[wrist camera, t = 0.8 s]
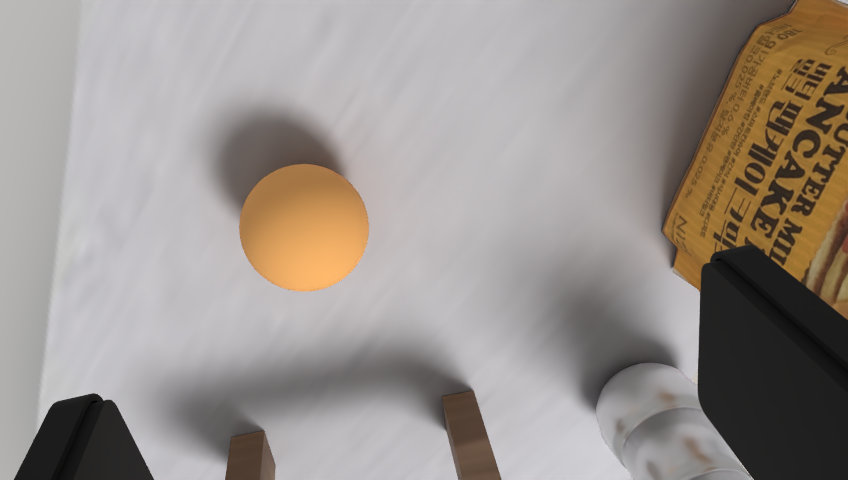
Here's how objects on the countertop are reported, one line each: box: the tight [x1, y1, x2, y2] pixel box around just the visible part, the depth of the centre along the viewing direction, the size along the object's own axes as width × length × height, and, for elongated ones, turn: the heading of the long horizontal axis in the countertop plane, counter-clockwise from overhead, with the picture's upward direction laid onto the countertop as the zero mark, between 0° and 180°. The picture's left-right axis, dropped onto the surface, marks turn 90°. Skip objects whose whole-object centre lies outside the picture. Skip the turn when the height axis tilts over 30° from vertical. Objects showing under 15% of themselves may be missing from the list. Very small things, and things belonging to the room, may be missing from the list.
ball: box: [239, 164, 369, 291], centre depth 32 cm, size 6×6×6 cm
